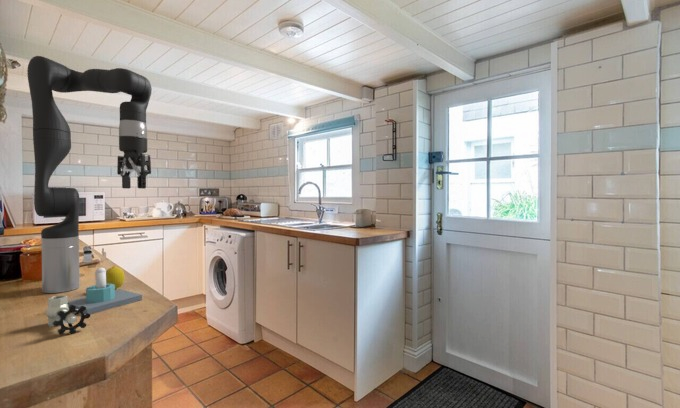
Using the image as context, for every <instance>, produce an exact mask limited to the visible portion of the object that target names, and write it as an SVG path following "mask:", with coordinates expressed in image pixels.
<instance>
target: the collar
mask: <svg viewBox="0 0 680 408" xmlns="http://www.w3.org/2000/svg"><path fill="white" fill-rule="evenodd" d="M85 288H86V289H85V297H86V302H89V303H97V302H104V301H108V300H111V299H113V298H115V284H106V288H100V289H96V284H94V285H91V286H87V287H85Z"/></svg>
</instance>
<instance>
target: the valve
mask: <svg viewBox="0 0 680 408" xmlns="http://www.w3.org/2000/svg"><path fill="white" fill-rule="evenodd" d="M68 298H69V297H68V296H67V295H66V294H59V295H54V296H50V297H48V298H47V308H46V311H45V312H46V316H47V326H49V327H50V328H54V327H55V328H56V327H60V328H58V329H57V330H56V331H57V333H58V334H60V335H62V334H63V335H64V333H65V332H66V331H68V333H69V334H70V335H74V334H76V332H77V330H76V329H77V328H82V329H84V328H86V327H87V323H86V322H84V321H85V320H87V319H89V318H91V314H89V313H86V314H84V313H83V311H85V310H86V307H85V306H80V308H79V309H75V308H76V306H75V305H73V304H71V305H69V306H68V304H67V303H68V301H69V299H68ZM77 315H80V319H79V321H78V322H77V319H78V317H77ZM75 322H77V323H76V324H75V325H73V324H74V323H75ZM66 324H67V326H65V325H66Z"/></svg>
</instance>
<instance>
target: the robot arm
mask: <svg viewBox="0 0 680 408" xmlns="http://www.w3.org/2000/svg"><path fill="white" fill-rule="evenodd" d="M26 72H27V74H26V75H27V81H28V86H29V87H28V88H29V94H30V100H31V108H32V111H31V112H32V142H33V143H32V144H33V153H34V154H33V155H34V167H35V168H34V189H33V190H34V191H33V192H34V194H33V204H34V205H33V207H34V210H35V213H36V215H37V216H39V217H64V219H63V220H62V221H60V222H59V223H56V224H54V225H51V226H48V227H45V228H42V229H41V231H40V233H41V235H40V238H41V240H40V241H41V283H42V286H41V289H42V293H45V294H57V293H65V292H70V291H74V290H76V289H79V288H80V237H79V234H80V232H79V231H80V230H79V224H80V223H79V222H80V221H79V218H80V217H79V215H80V193H79V191H78V189H76V188H75V187H50V186H49V182H50V180H51V177H52V175H53V174H54V172H55V171H56V169H57V168H58V167H59V165H60V164H61V163H62V162H63V161H64V159H65V158H66V157H67V156H68V154H69V153H70V151H71V150H72V136H71V128H70V125H69V124H68V121H67V120H66V118H65V116H64V115H63V114H62V112H61V110H60V109H59V108H58V106H57V104H56V102H55V98H54V94H53V91H54V92H57V93H60V94H61V93H75V92H98V93H105V94H106V93H107V94H119V93H124V94H127V95H129V96H131V98H130V101H122V102H121V103H120V105H119V124H118V150H119V152H122V153H123V156H122V155H118V156H117V164H116V165H117V170H116V171H117V172H116V174H117V175H119V176H120V177H121V188H122V189H131V185H132V184H131V175H132V173H133V172H134V171H135V172H136V174H137V189H146V188H147V177H148V175H151V174H152V162H151V160H152V159H151V155H150V154H148V153H147V152H148V127H147V108H148V106H149V103H150V102H149V101H150V99H151V96H152V90H153V89H152V85H151V82H150V80H149V79H148V78H147V77H145V76H144V75H142V74H139V73H137V72H135V71H132V70H131V69H127V68H120V67H116V68H110V69H103V68H89V69H87V70H85V71H84V72H82V71H78V70H74V69H71V68H69V67H67V66H66V65H64V64H62V63H61V62H57V61H55V60H53V59H50V58H47V57H44V56H41V55H35V56H33V57H31V59H30V60H29V62H28V64H27V70H26ZM146 153H147V154H146Z"/></svg>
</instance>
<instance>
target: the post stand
mask: <svg viewBox="0 0 680 408" xmlns="http://www.w3.org/2000/svg"><path fill="white" fill-rule="evenodd" d="M106 271H107V270H106V268H104V267H98V268H97V269H96V270H95V273H94V274H95V275H94V276H95V285H96V289H100V288H106ZM142 300H143V294H139V293H137V292H133V291H129V290H126V289H121V288H117V289H116V290H115V298H113V299H111V300H108V301H104V302H97V303H89V302H86V296H84V297H80V298H75V299H71V300H68V303H67V304H68V306H69V305H71V304H73V305H75V306H76V308H75V309H79V308H80V306H85V307H86V310H85V311H83V313H84V314H86V313H89V314H90V315H92V314H96V313H101V312H104V311H107V310H110V309H113V308H117V307H122V306H124V305H129V304H133V303H136V302H138V301H142Z"/></svg>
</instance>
